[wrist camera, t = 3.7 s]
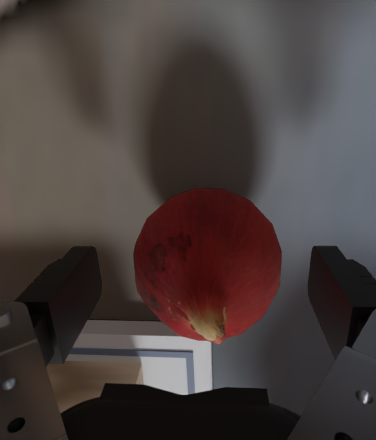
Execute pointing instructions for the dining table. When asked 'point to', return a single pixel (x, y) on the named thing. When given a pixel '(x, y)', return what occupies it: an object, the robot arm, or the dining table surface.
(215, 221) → the red round fruit
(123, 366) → the square wooden tray
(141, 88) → the dining table surface
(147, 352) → the board
